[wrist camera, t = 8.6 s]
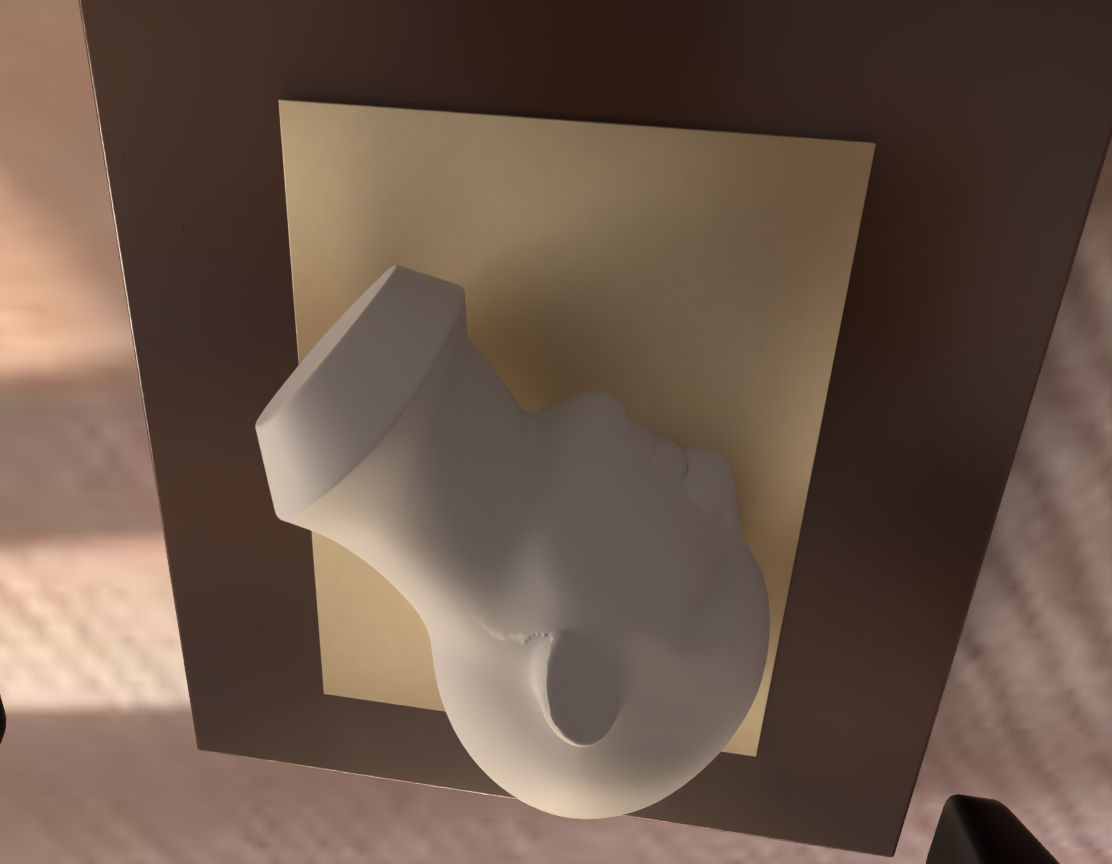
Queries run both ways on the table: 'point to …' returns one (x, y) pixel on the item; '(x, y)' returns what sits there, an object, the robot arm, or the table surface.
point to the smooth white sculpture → (528, 552)
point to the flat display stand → (611, 324)
